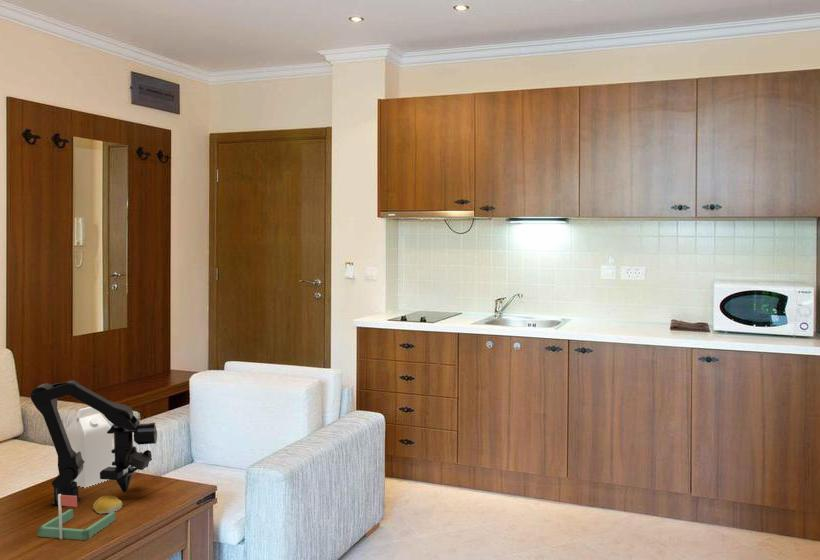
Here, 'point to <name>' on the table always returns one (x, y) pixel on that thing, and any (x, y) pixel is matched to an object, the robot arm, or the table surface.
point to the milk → (91, 445)
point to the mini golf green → (67, 533)
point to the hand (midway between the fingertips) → (125, 491)
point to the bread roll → (107, 504)
